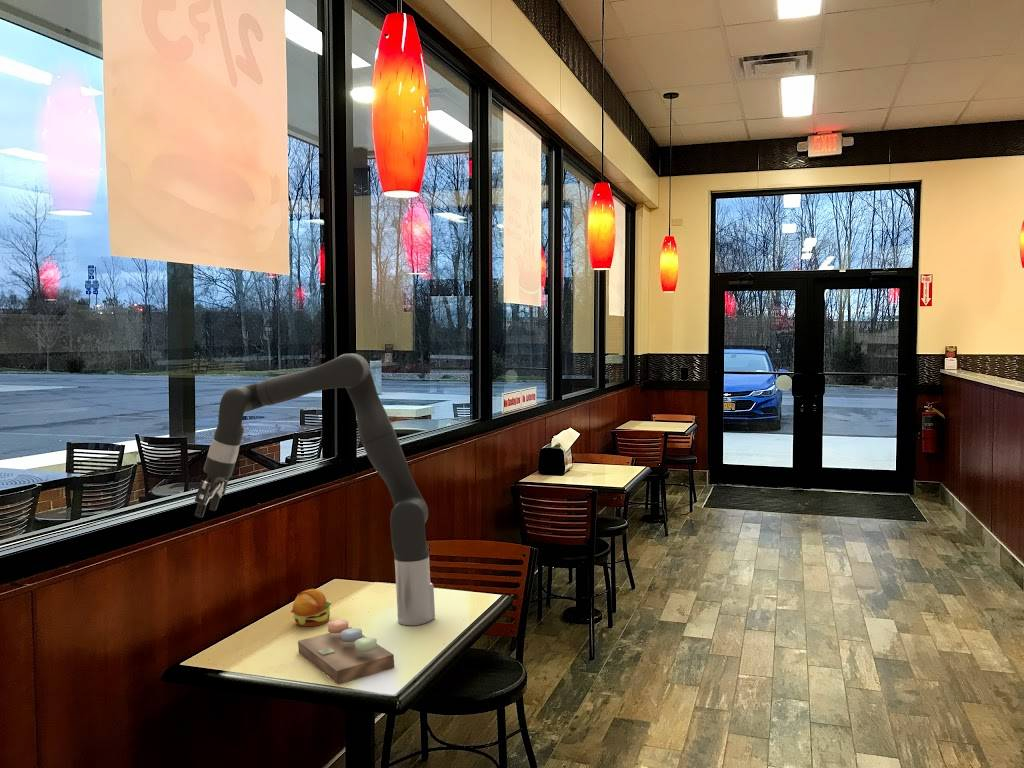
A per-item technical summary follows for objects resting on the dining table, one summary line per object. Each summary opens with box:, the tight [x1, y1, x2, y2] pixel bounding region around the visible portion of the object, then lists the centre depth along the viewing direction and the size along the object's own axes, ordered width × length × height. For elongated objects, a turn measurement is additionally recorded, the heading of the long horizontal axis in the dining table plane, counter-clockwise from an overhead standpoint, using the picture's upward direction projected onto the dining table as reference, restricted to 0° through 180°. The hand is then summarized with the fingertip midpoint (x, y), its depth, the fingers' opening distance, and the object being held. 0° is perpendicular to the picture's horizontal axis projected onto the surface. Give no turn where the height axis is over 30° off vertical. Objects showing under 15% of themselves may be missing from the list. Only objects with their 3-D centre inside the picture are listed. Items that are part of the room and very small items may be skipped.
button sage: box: [355, 636, 378, 652], centre depth 187 cm, size 5×5×2 cm
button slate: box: [341, 627, 363, 642], centre depth 194 cm, size 5×5×2 cm
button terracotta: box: [327, 619, 350, 633], centre depth 201 cm, size 5×5×2 cm
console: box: [297, 626, 395, 685], centre depth 193 cm, size 14×24×3 cm, turn 35°
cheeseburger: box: [290, 588, 332, 627], centre depth 220 cm, size 10×11×10 cm
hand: (205, 513), depth 220 cm, fingers open, 8 cm apart
